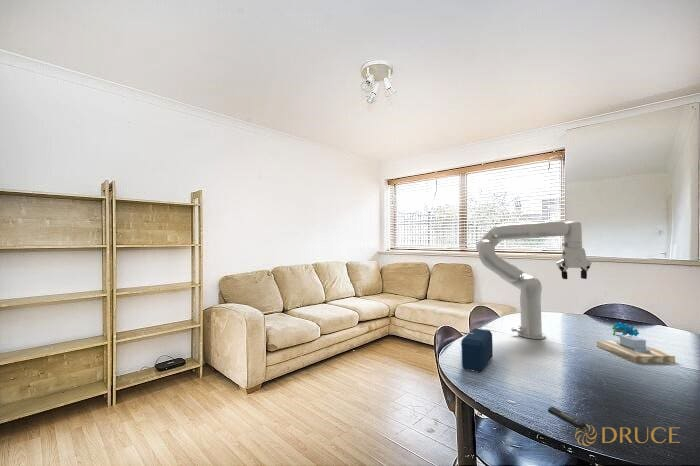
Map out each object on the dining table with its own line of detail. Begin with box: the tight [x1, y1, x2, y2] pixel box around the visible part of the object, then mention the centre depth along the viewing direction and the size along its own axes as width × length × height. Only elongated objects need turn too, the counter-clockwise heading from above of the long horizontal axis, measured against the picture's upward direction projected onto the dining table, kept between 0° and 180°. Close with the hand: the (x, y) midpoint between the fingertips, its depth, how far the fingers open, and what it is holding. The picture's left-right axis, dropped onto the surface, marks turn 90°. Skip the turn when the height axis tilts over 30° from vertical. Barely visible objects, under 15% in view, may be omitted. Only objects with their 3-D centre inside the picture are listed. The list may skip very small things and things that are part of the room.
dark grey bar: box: [547, 406, 587, 429], centre depth 88 cm, size 10×3×2 cm, turn 21°
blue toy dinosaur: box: [611, 322, 640, 337], centre depth 159 cm, size 11×6×10 cm
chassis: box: [596, 339, 676, 364], centre depth 135 cm, size 16×20×3 cm
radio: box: [461, 327, 494, 373], centre depth 128 cm, size 21×9×20 cm, turn 145°
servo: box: [617, 334, 650, 352], centre depth 135 cm, size 5×11×7 cm, turn 178°
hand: (574, 278), depth 158 cm, fingers open, 9 cm apart
